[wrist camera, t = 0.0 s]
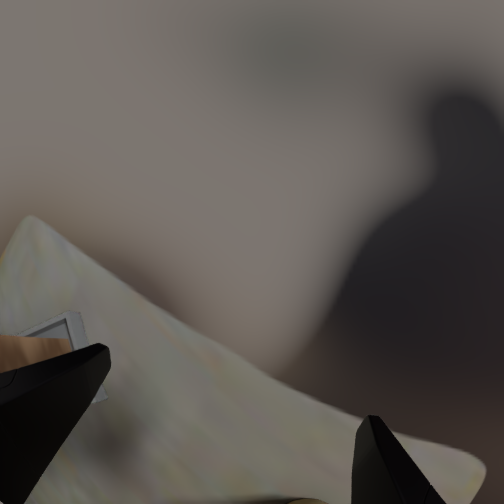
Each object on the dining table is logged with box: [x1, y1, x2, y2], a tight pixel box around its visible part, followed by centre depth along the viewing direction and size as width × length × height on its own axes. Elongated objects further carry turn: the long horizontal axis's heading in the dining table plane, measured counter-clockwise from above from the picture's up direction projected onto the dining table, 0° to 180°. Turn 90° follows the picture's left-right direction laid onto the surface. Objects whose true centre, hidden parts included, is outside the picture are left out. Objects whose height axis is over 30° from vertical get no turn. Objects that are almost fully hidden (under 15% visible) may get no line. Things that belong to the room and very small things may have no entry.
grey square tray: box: [16, 311, 108, 404], centre depth 23 cm, size 9×9×2 cm
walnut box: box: [0, 335, 72, 373], centre depth 17 cm, size 4×4×13 cm
